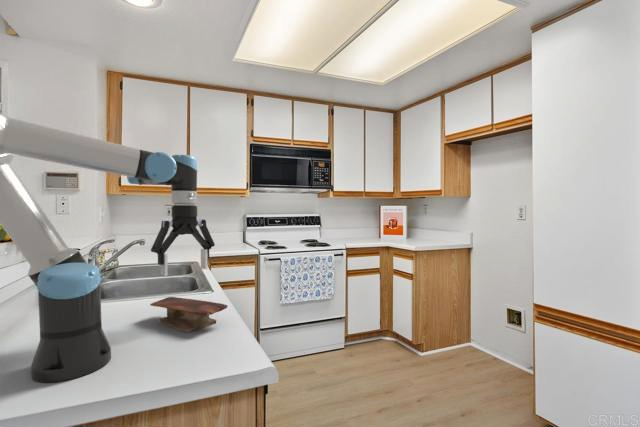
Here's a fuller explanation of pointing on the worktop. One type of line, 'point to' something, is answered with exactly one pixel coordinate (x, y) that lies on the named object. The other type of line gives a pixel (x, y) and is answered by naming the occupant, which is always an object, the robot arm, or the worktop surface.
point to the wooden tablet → (190, 305)
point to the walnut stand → (186, 320)
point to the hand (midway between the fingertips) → (185, 272)
